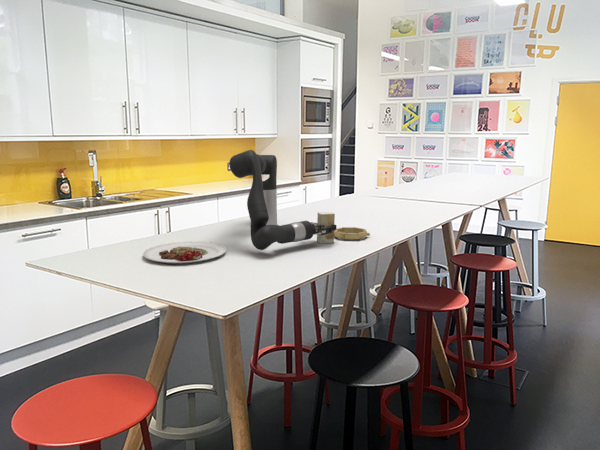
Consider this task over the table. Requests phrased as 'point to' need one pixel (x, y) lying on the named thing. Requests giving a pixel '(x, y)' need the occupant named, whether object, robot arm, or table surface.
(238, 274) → the table surface
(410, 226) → the table surface
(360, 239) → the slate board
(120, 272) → the table surface
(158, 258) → the plated food
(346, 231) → the brass collar
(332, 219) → the skincare box
